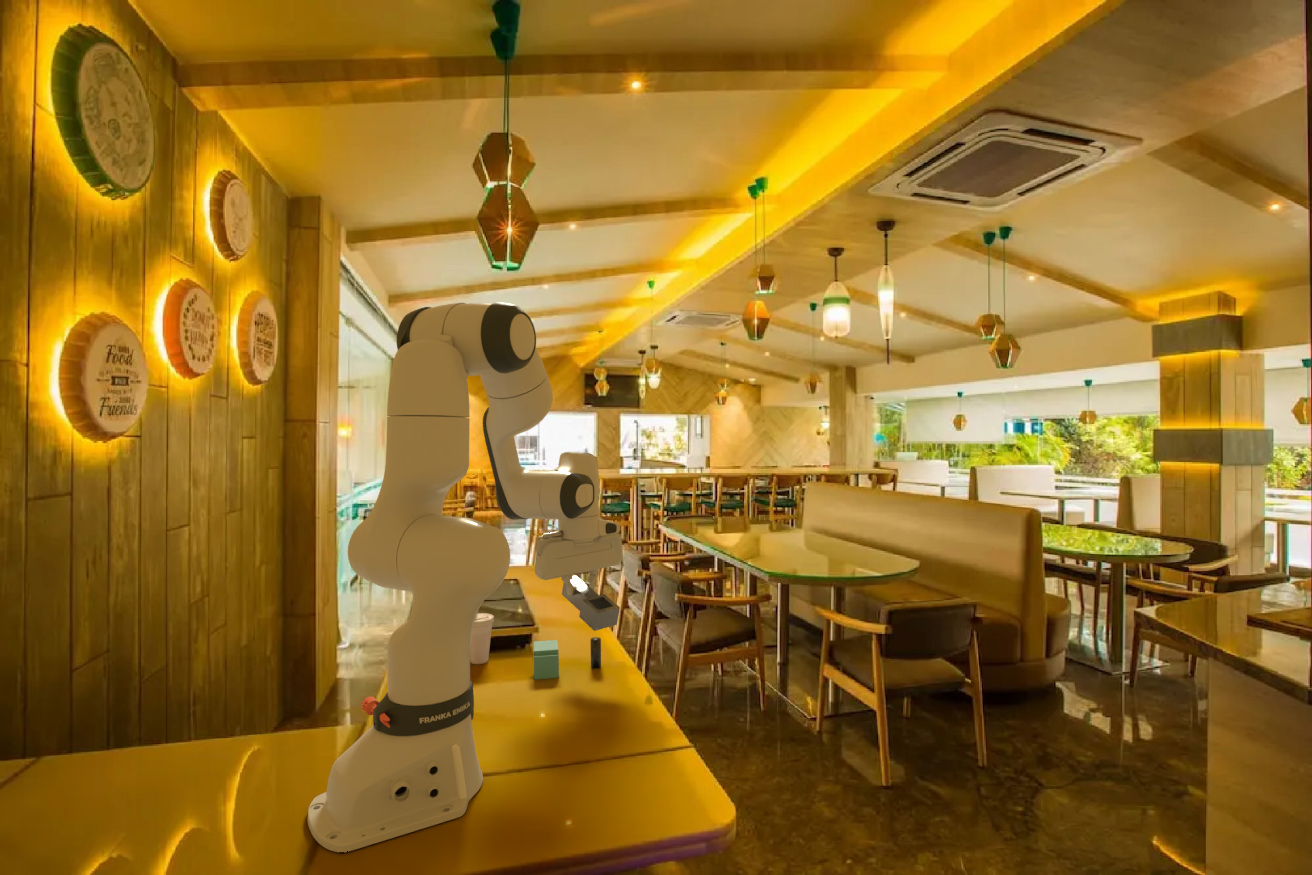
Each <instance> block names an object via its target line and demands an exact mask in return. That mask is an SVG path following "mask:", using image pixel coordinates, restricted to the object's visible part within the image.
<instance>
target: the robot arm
mask: <svg viewBox="0 0 1312 875" xmlns="http://www.w3.org/2000/svg"><path fill="white" fill-rule="evenodd" d="M397 328H398V329H397V331H396V332H397V333H396V348H397V351H396V353H395V355H394V357H393V358H394V359H393V362H392V367H391V373H390V378H389V386H388V392H387V404H386V406H387V408H386V416H387V417H386V446H385V447H386V449H385V465H384V473H383V479H382V483H381V486H380V489H379V492H378V496H377V499H376V501H375V503H374V505H373V507H372V510H371V511H370V512H369V514H368V516H367V517H365V519H364V520H363V521H362V522H360V523H359V524H358V525H357V527H356V528H355V529H354V530H353V532H352V534H351V537H350V539H349V542H348V546H347V558H348V563H349V565H350V568H351V569H352V571H353V572H354V573H355V574H356V575H357V576H359V577H360V578H362V579H364V580H365V581H368V582H370V583H373V585H374V584H375V585H377V586H378V587H381V588H385V589H391V590H398V591H403V592H404V591H405V592H411V594H412V598H413V599H412V600H413V601H412V607H411V610H410V611H411V612H410V614H409V617H408V620H407V621H405V622H404V623H403V624H401V625H400V626H399V627H397V628H396V629H394V631H393V632H392V634H391V635H389V636H390V637H389V639H388V641H387V645H386V650H387V651H386V653H387V654H386V656H387V657H386V658H387V659H386V660H387V661H386V663H387V666H386V667H387V668H386V669H387V692H386V693H385V695H384V696H383V698H382V699H381V700H380V701H378V700H377V698H375V696H367V697H366V698H364V699H363V701H362V702H361V704H362V705H361V709H362V710H363V711H364V712H365V714H367V715H368V716H372V726H370V728H368V729H367V730H366V731H365V732H364V733H363V734H362V735H361V736H360V737H359V738H358V739H357V740H356V741H355V742H354V743H352V745H351V746H349V747H348V748H347V749H346V750H345V751H344V752H343V753H342V754H341V755H340V756H338V757H337V758H336V760H335V761H334V762H333V764H332V767H331V769H330V773H329V775H328V781H327V785H326V791H325V792H322V793H321V794H319V795H316V796H315V797H314V798H313V800H312V801H311V802H310V804H309V806H308V810H307V825H308V829H309V831H310V833H311V835H312V837H313V839H315V841H316V842H317V843H318V844H319V845H320V846H322V847H323V848H324V849H327V850H329V851H331V852H335V853H339V852H344V853H348V852H351V851H355V850H358V849H361V848H365V847H368V846H371V845H373V844H377V843H380V842H384V841H387V840H390V839H393V838H396V837H400V836H403V835H406V834H409V833H412V832H413V833H414V832H416V831H419V830H423V829H426V828H429V827H432V826H436V825H438V824H439V825H440V824H441V823H442V824H443V823H445V822H447V821H452V820H454V819H457V818H460V817H462V816H463V815H465V813H466V812H467V810H468V805H469V802H470V801H471V799H472V798H473V797H475V795H476V794H477V792H479V790H480V789H481V788H482V785H483V781H484V775H483V772H482V768H481V765H480V762H479V758H478V755H477V754H478V753H477V749H476V745H475V744H476V743H475V738H474V730H473V729H474V728H473V721H472V720H474V715H475V712H474V710H475V708H474V707H475V696H474V683H473V681H472V680H471V660H470V645H471V633H472V627H473V623H474V620H475V617H476V614H477V612H478V613H479V610H480V607H481V606H482V605H483V603H484V601H485V600H486V599H487V598H488V597H489V596H490V595H491V594H493V593H494V592H495V591H497V589H498V588H499V587H500V586H501V584H502V583H503V582H504V580H505V579H506V576H507V574H508V572H509V569H510V562H511V548H510V545H509V542H508V540H507V537H506V536H505V533H503V531H502V530H501V529H499V528H498V527H496V526H494V525H491V524H489V523H486V522H483V521H480V520H477V519H473V518H470V517H463V516H461V517H460V516H447V515H443V508H444V503H445V500H446V499H447V498H446V497H447V495H448V493H449V491H450V490H451V488H452V487H453V486H454V485H456V484H458V483H459V482H460V481H461V480H462V479H464V478H465V476H466V475H467V474H468V472H469V467H470V398H469V397H470V396H469V395H470V394H469V387H468V386H469V384H468V377H475V376H476V377H477V376H479V378H480V381H481V383H482V386H483V389H484V391H485V394H486V397H487V401H488V407H487V408H486V409H485V411H484V413H483V417H482V430H483V431H482V432H483V435H484V442H485V445H486V449H487V454H488V457H489V458H488V459H489V462H490V463H489V464H490V466H491V470H492V475H493V479H494V483H495V499H496V503H497V506H498V508H499V510H500V511H501V512H502V514H503V515H504V516H505V517H506V518H508V519H509V520H513V521H514V520H530V519H532V520H557V522H558V523H557V524H558V525H557V526H558V531H557V530H556V531H553V532H550V533H549V532H544V533H542V534H541V536H539V537H538V538H537V540H536V541H535V553H536V554H535V560H534V574H535V576H536V577H537V578H539V579H541V580H544V581H548V580H554V579H557V578H559V579H560V578H561V580H562V582H563V583H564V584H565V585H566V586H567V595H569V596H572V595H576V594H577V586H574V585H572V583H571V581H570V580H572V579H573V576H574V575H577V574H578V575H579V574H581V573H582V574H583V573H588V574H589V575H588V578H587V581H585V582H584V581H583V582H584V583H585V584H587V585H588V586H589V587H590V588H591V589H592V590H594V591H595V583H596V581H597V579H598V577H599V575H600V574H599V572H600V569H605V568H606V569H607V568H609V567H610V568H611V567H615V566H619V565H620V564H621V563H622V561H623V557H624V555H623V552H624V551H623V542H622V537H621V536H620V534H619V533H620V531H621V525H620V524H621V523H618V522H616V521H615V522H614V521H611V520H607V519H605V518H601V510H600V506H599V497H600V493H601V492H600V491H601V490H600V488H601V487H600V474H599V466H598V462H597V459H596V456H595V455H594V454H592V453H590V452H585V451H583V452H582V451H565V452H562V453H560V456H559V460H558V466H557V467H556V468H554V469H553V470H532V469H528V468H525V467H523V466H522V465H521V463H520V459H519V455H518V449H517V444H516V439H515V437H516V436H518V435H520V434H521V433H525V432H527V431H530V430H532V429H533V428H534V427H536V426H537V425H539V424H540V423H541V422H542V421H543V420H544V419H545V417H546V416H547V415H548V414H549V412H550V409H551V408H552V404H553V400H554V398H553V397H554V394H553V389H552V384H551V382H550V379H549V376H548V373H547V371H546V368H545V365H544V362H543V359H542V357H541V355H540V353H539V351H538V349H537V333H536V329H535V326H534V322H533V320H532V318H531V317H530V316H529V314H527V312H525V310H524V309H522V307H520V306H519V305H516V304H513V303H508V302H498V301H497V302H493V303H484V302H483V303H482V302H481V303H479V302H478V303H477V302H474V303H465V302H457V303H447V304H440V305H437V306H424V307H421V308H417V309H415V310H413V311H410V312H408V313H407V314H405V315H404V316H403V318H402V320H401V322H400V323H399V325H398V327H397ZM347 851H348V852H347Z"/></svg>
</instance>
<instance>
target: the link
mask: <svg viewBox="0 0 1312 875" xmlns="http://www.w3.org/2000/svg"><path fill="white" fill-rule="evenodd" d="M572 576H573V579H572V580H570V581H571V583H572V585H574V586H577V594H576V595H572V596H569V595H567V586H566V585H565V584H564V582H563V584H562V590H561V596H563V597H564V598H565V599H566V600H567V601H568V602H569V603H570V604H572V605H573V606H574V607H575V608H576V609H577V610H578V611H579V614H578V617H579V618H580V620H582V621H583V622H584V623H585V624H586V625H587V626H588V627H589V628H590V629H591V630H592V631H594V632H596V631H599V630H603V629H606V628H611V627H613V626H616V625H618V620H619V614H620V609H621V607H620V606H619V605H618V604H617V603H616V602H614V601H613V600H612V599H611V598H610V597H608V596H607V595H606V594H605V593H603V594H598V593H597V592H596V591H595V589H594V590H592V589H591V588H590V587H589V586H588V585H587V584H585V583H584V581H583V580H582V579H581V578H580V577H578V575H577V574H574V575H572Z"/></svg>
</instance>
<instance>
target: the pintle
mask: <svg viewBox="0 0 1312 875" xmlns="http://www.w3.org/2000/svg"><path fill="white" fill-rule="evenodd" d="M590 668H591V669H592V670H593V669H595V670H598V669H601V668H602V638H600V637H597V636H595V637H590Z"/></svg>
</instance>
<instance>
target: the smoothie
mask: <svg viewBox="0 0 1312 875" xmlns="http://www.w3.org/2000/svg"><path fill="white" fill-rule="evenodd" d="M494 621H495V616H494V615H493V614H491V613H487V612H484V613H483V612H481V613H480V612H479V611H478V612H477V614H476V617H475V620H474V623H473V627H472V633H471V645H470V664H472V665H481V664H482V665H483V664H486V663H488V662H489V655H490V648H491V647H490V646H491V639H492V638H491V637H492V630H493V629H492V628H493V623H494Z"/></svg>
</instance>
